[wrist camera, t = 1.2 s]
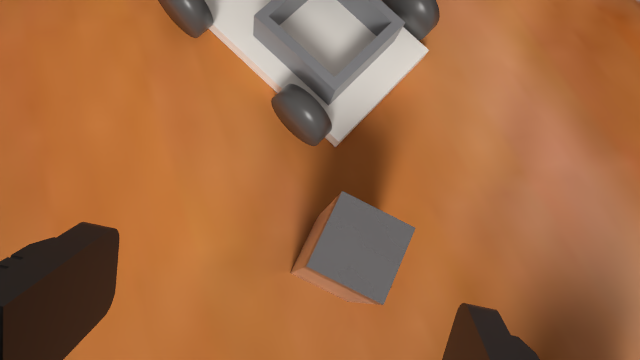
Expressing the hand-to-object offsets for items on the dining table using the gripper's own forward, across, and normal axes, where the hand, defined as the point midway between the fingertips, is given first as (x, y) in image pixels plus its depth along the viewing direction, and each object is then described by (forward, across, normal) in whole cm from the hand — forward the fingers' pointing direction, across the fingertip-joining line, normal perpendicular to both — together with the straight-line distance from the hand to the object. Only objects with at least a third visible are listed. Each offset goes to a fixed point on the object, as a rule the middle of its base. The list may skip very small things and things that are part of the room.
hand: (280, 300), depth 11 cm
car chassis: (+34, +5, -7) cm, 35 cm away
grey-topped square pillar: (+25, -2, +10) cm, 27 cm away
